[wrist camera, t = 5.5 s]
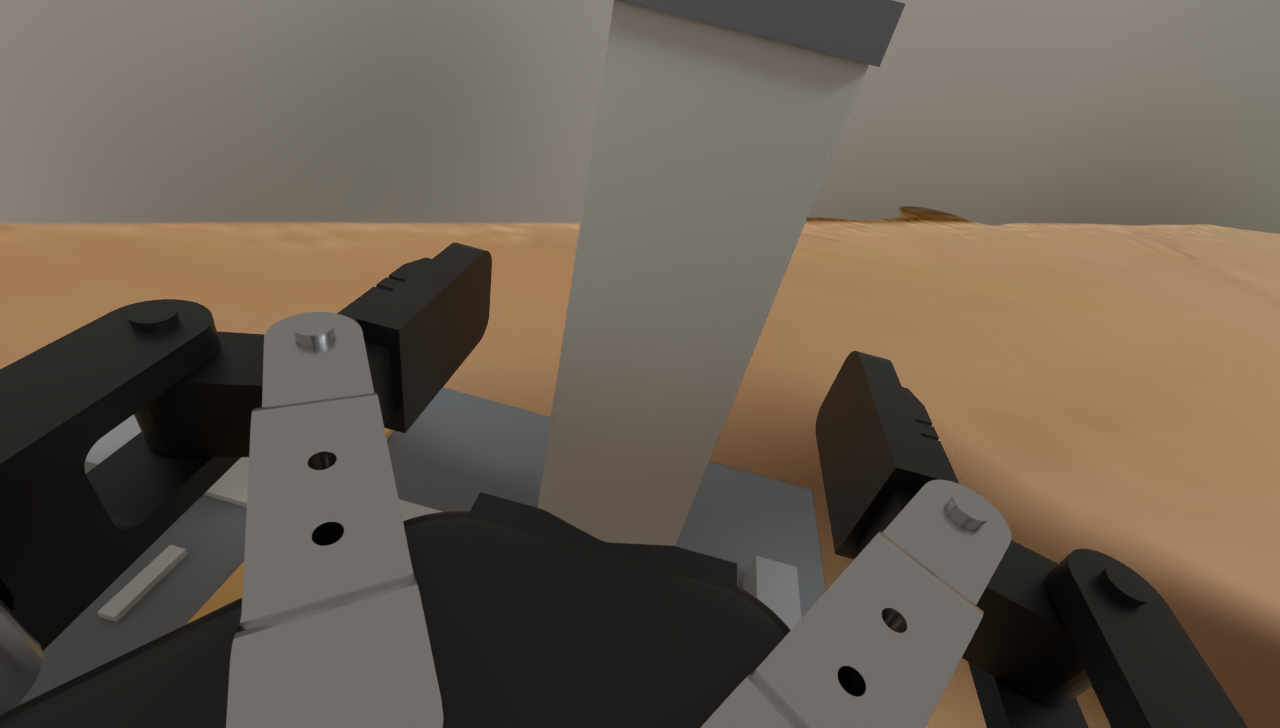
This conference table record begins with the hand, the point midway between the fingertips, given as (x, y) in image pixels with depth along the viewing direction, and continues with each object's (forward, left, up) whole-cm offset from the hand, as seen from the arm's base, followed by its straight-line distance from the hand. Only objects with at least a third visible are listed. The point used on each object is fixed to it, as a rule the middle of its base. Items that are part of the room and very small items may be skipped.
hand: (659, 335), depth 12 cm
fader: (-1, +1, -7) cm, 7 cm away
